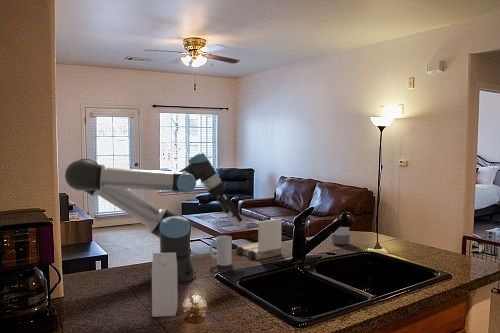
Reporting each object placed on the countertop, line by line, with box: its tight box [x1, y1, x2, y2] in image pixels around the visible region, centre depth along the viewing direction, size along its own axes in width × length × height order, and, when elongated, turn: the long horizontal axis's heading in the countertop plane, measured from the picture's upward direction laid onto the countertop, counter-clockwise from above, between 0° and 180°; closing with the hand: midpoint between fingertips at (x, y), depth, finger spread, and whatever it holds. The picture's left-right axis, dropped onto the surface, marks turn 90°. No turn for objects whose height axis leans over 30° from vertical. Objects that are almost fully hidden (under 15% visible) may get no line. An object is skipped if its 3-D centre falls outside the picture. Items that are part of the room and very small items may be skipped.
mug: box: [209, 235, 233, 267], centre depth 180 cm, size 10×7×12 cm, turn 112°
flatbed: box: [235, 242, 282, 261], centre depth 198 cm, size 16×17×4 cm
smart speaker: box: [331, 218, 351, 246], centre depth 216 cm, size 10×9×14 cm
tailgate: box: [257, 218, 283, 253], centre depth 190 cm, size 1×14×14 cm, turn 127°
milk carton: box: [151, 252, 179, 318], centre depth 129 cm, size 7×7×19 cm
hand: (240, 225), depth 180 cm, fingers open, 13 cm apart
